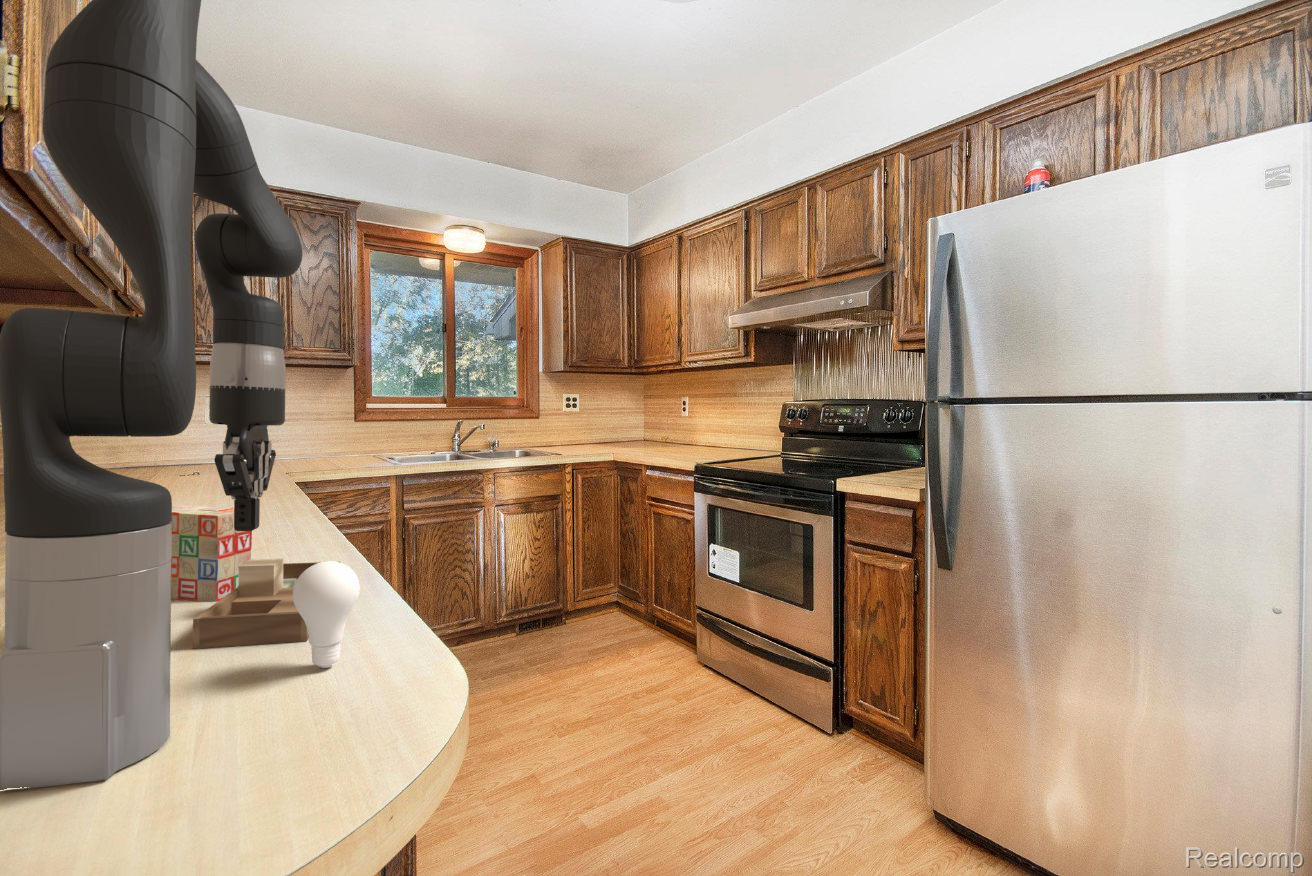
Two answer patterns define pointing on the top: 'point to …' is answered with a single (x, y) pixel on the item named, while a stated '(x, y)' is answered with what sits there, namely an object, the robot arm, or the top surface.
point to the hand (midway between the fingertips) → (246, 529)
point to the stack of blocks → (206, 552)
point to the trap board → (253, 617)
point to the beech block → (260, 577)
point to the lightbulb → (326, 607)
